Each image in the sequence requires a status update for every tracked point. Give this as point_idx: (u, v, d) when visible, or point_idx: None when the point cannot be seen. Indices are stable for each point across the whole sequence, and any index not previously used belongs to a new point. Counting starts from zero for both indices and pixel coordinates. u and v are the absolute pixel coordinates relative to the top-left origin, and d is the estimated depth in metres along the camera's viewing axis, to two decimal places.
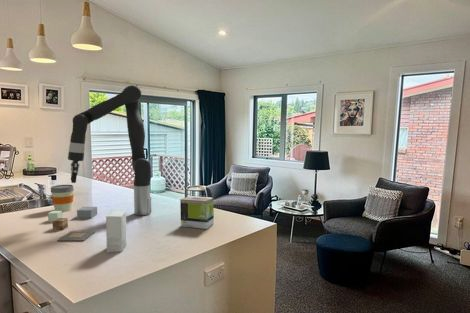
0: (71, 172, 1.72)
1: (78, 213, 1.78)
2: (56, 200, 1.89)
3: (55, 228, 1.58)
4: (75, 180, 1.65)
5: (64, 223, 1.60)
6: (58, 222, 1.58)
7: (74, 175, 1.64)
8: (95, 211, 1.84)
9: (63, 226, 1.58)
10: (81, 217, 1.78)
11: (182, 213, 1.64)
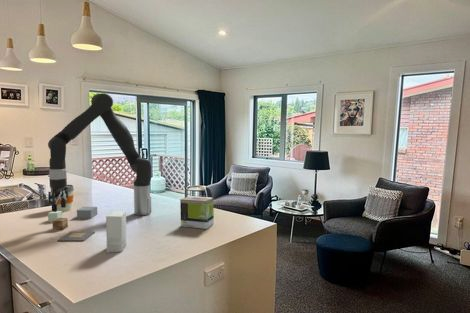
0: None
1: (78, 213, 1.78)
2: None
3: (55, 228, 1.58)
4: (55, 209, 1.55)
5: (64, 223, 1.60)
6: (58, 222, 1.58)
7: (52, 204, 1.53)
8: (95, 211, 1.84)
9: (63, 226, 1.58)
10: (81, 217, 1.78)
11: (182, 213, 1.64)
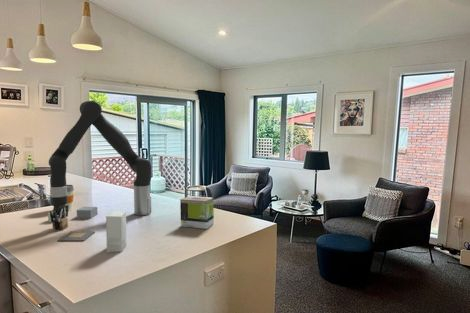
0: (60, 217, 1.62)
1: (78, 213, 1.78)
2: None
3: None
4: (58, 227, 1.57)
5: (64, 223, 1.60)
6: None
7: (55, 222, 1.56)
8: (95, 211, 1.84)
9: (63, 226, 1.58)
10: (81, 217, 1.78)
11: (182, 213, 1.64)
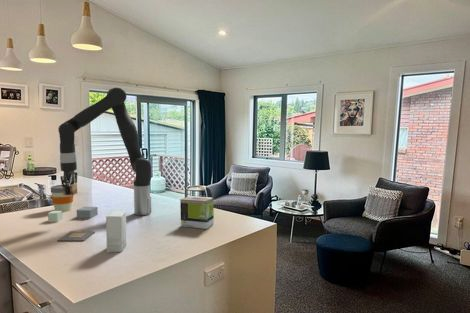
0: None
1: (78, 213, 1.78)
2: (56, 200, 1.89)
3: None
4: (68, 192, 1.63)
5: (74, 189, 1.66)
6: None
7: (66, 187, 1.62)
8: (95, 211, 1.84)
9: (73, 191, 1.64)
10: (80, 217, 1.78)
11: (182, 213, 1.64)
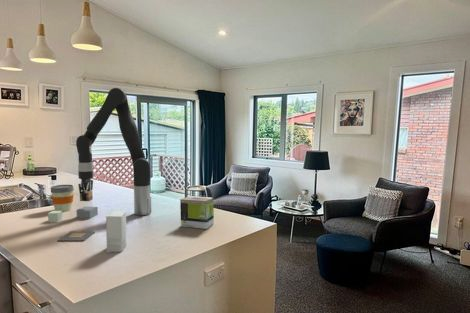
0: None
1: (78, 213, 1.78)
2: (56, 200, 1.89)
3: None
4: (85, 198, 1.78)
5: (90, 195, 1.81)
6: None
7: (83, 194, 1.77)
8: (95, 211, 1.84)
9: (89, 197, 1.79)
10: (80, 217, 1.79)
11: (182, 213, 1.64)
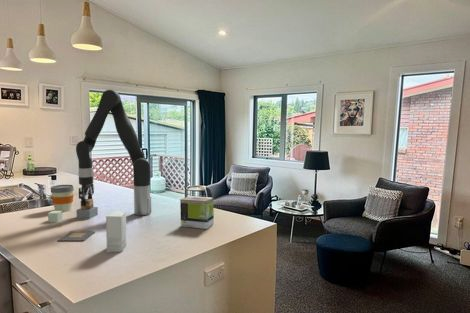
0: (87, 194, 1.85)
1: (77, 213, 1.79)
2: (56, 200, 1.89)
3: (83, 207, 1.79)
4: (84, 203, 1.77)
5: (91, 203, 1.81)
6: None
7: (82, 198, 1.76)
8: (95, 211, 1.84)
9: (89, 205, 1.80)
10: (80, 217, 1.79)
11: (182, 213, 1.64)
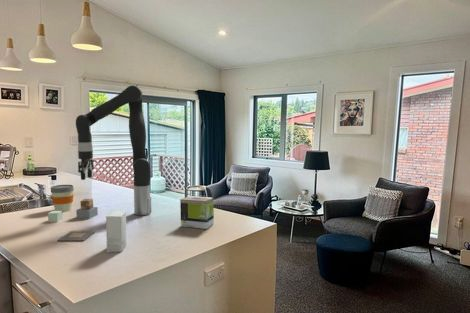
0: (87, 170, 1.84)
1: (77, 213, 1.79)
2: (56, 200, 1.89)
3: (83, 207, 1.79)
4: (84, 177, 1.76)
5: (91, 203, 1.81)
6: (85, 202, 1.79)
7: (81, 173, 1.75)
8: (95, 211, 1.84)
9: (89, 205, 1.80)
10: (80, 217, 1.79)
11: (182, 213, 1.64)
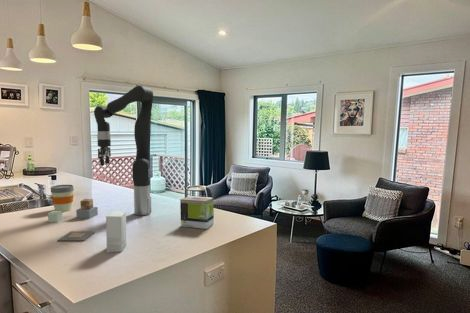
0: (105, 157, 2.01)
1: (77, 213, 1.79)
2: (56, 200, 1.89)
3: (83, 207, 1.79)
4: (103, 163, 1.93)
5: (90, 203, 1.81)
6: (85, 202, 1.79)
7: (101, 159, 1.92)
8: (95, 211, 1.84)
9: (89, 205, 1.80)
10: (80, 217, 1.79)
11: (182, 213, 1.64)
